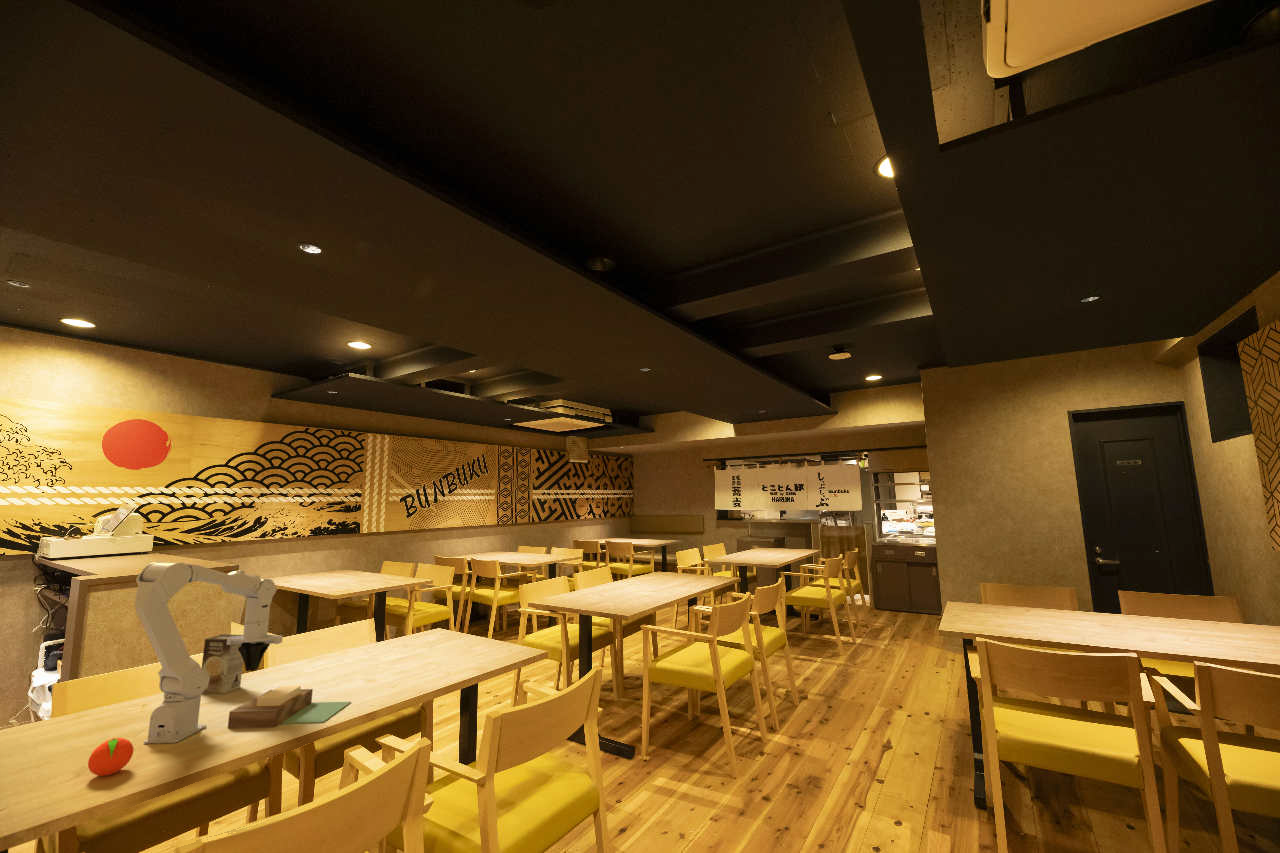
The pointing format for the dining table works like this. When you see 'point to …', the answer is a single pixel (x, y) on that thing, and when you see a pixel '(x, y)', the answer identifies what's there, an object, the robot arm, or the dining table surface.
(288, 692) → the tile
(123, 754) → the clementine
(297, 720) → the mat
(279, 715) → the brown wooden block
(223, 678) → the coffee box
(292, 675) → the dining table surface
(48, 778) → the dining table surface
